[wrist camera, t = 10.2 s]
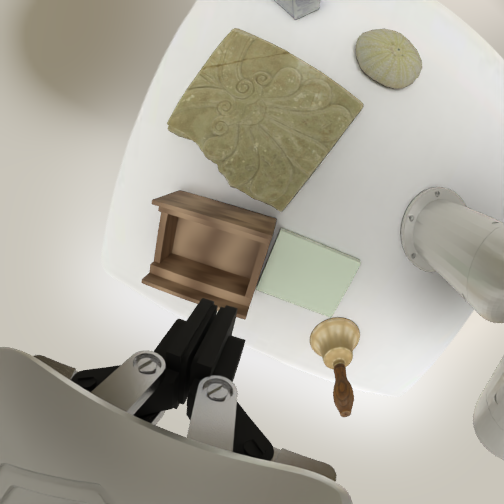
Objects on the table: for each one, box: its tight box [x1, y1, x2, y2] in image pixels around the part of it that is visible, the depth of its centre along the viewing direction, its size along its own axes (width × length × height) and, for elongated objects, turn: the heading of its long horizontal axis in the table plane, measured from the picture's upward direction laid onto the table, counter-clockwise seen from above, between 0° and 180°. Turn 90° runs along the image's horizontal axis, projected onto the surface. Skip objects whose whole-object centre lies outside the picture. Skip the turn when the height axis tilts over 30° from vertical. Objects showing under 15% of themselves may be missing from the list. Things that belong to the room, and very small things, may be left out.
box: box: [142, 190, 277, 319], centre depth 34 cm, size 14×11×8 cm
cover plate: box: [256, 228, 361, 317], centre depth 38 cm, size 12×9×2 cm
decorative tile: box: [167, 28, 363, 212], centre depth 31 cm, size 19×20×4 cm
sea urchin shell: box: [356, 29, 422, 89], centre depth 24 cm, size 9×8×8 cm
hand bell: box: [310, 318, 360, 417], centre depth 34 cm, size 8×8×16 cm
